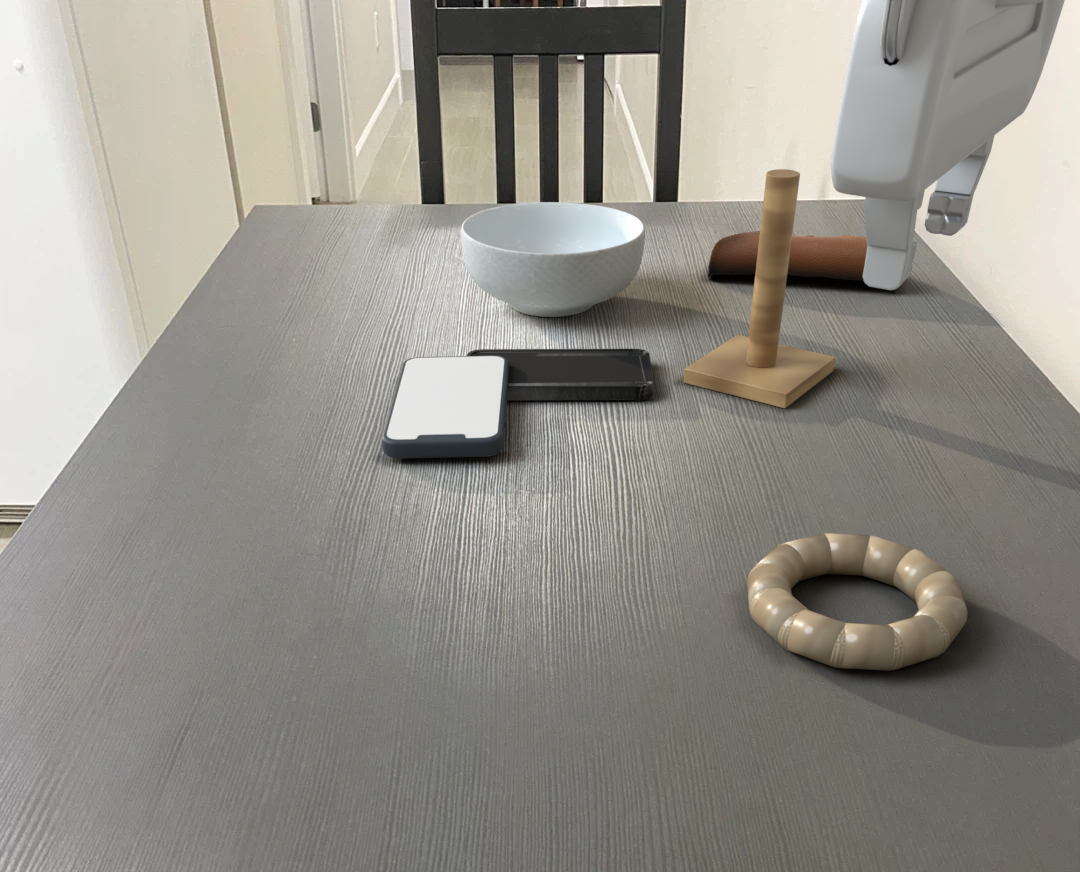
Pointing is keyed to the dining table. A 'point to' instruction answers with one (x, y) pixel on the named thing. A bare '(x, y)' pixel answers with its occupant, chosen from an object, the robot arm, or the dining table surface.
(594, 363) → the phone
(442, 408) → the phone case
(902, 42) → the robot arm
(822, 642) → the ring
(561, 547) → the dining table surface
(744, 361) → the peg stand
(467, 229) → the cereal bowl
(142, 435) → the dining table surface
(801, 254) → the sunglasses case
